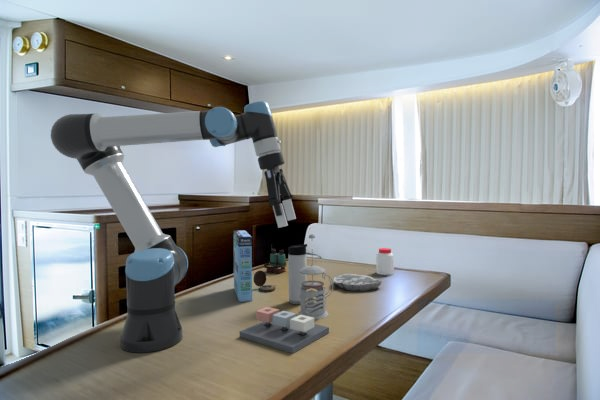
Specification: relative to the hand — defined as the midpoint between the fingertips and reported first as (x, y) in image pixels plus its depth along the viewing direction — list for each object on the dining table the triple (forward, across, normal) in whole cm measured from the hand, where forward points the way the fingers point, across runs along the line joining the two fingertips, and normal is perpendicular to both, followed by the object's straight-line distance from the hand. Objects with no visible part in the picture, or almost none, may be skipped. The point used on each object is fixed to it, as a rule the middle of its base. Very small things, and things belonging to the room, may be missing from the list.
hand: (287, 223), depth 117 cm
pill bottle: (+39, +63, -23) cm, 78 cm away
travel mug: (+29, +15, +7) cm, 34 cm away
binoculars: (+28, +60, +26) cm, 70 cm away
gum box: (+24, +22, +29) cm, 44 cm away
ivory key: (+27, -18, 0) cm, 32 cm away
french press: (+30, +3, 0) cm, 30 cm away
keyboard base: (+28, -15, +5) cm, 32 cm away
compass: (+27, +30, +22) cm, 46 cm away
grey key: (+26, -15, +5) cm, 30 cm away
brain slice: (+35, +38, -11) cm, 53 cm away
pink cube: (+25, -12, +10) cm, 30 cm away
